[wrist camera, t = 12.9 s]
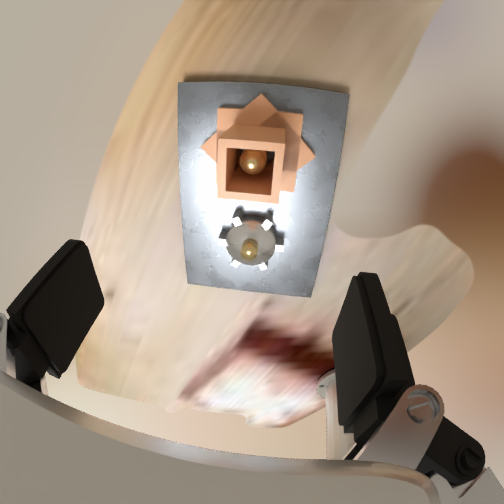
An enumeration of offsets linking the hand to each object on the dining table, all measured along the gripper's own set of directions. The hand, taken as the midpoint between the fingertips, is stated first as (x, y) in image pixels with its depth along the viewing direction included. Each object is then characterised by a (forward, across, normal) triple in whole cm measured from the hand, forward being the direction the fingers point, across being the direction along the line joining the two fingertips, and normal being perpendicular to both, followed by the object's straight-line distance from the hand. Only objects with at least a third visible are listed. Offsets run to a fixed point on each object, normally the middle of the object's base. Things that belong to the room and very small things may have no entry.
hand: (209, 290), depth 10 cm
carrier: (+20, 0, +5) cm, 21 cm away
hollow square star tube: (+19, 0, 0) cm, 19 cm away
